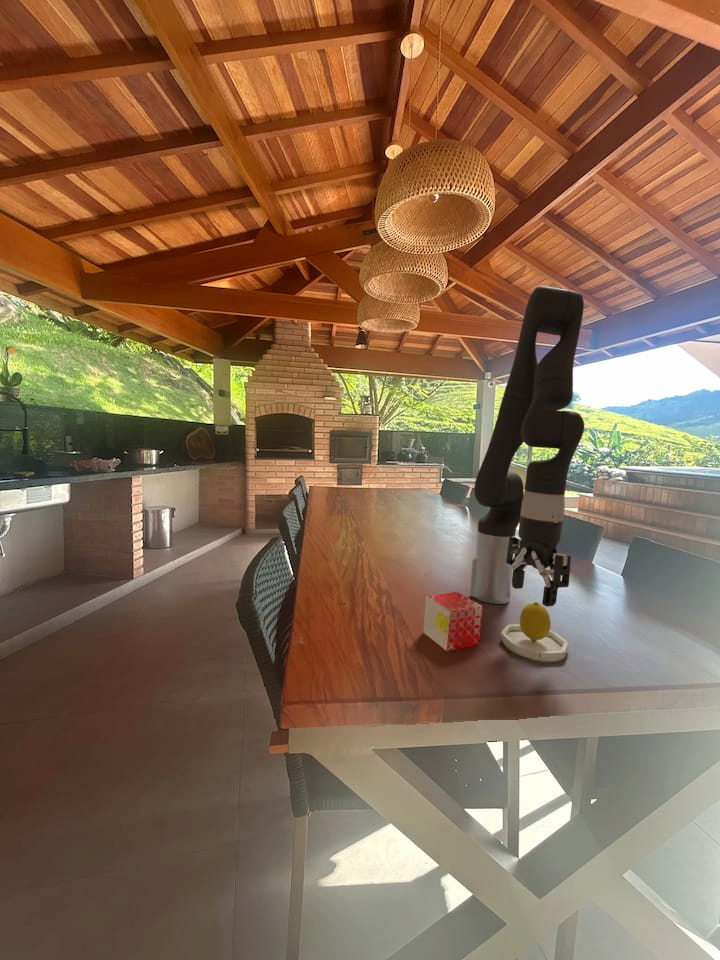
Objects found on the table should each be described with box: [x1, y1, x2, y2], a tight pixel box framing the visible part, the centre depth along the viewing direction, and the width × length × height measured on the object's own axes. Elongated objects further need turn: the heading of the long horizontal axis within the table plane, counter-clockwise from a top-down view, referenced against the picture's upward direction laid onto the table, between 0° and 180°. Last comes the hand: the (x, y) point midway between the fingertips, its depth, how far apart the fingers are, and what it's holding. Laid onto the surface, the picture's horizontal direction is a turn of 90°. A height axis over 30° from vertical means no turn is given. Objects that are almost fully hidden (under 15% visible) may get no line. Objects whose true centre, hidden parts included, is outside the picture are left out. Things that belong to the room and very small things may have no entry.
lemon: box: [519, 601, 551, 642], centre depth 79 cm, size 6×6×8 cm
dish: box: [500, 623, 570, 663], centre depth 79 cm, size 12×12×2 cm
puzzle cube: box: [423, 591, 483, 652], centre depth 81 cm, size 8×8×8 cm
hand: (532, 596), depth 79 cm, fingers open, 8 cm apart
